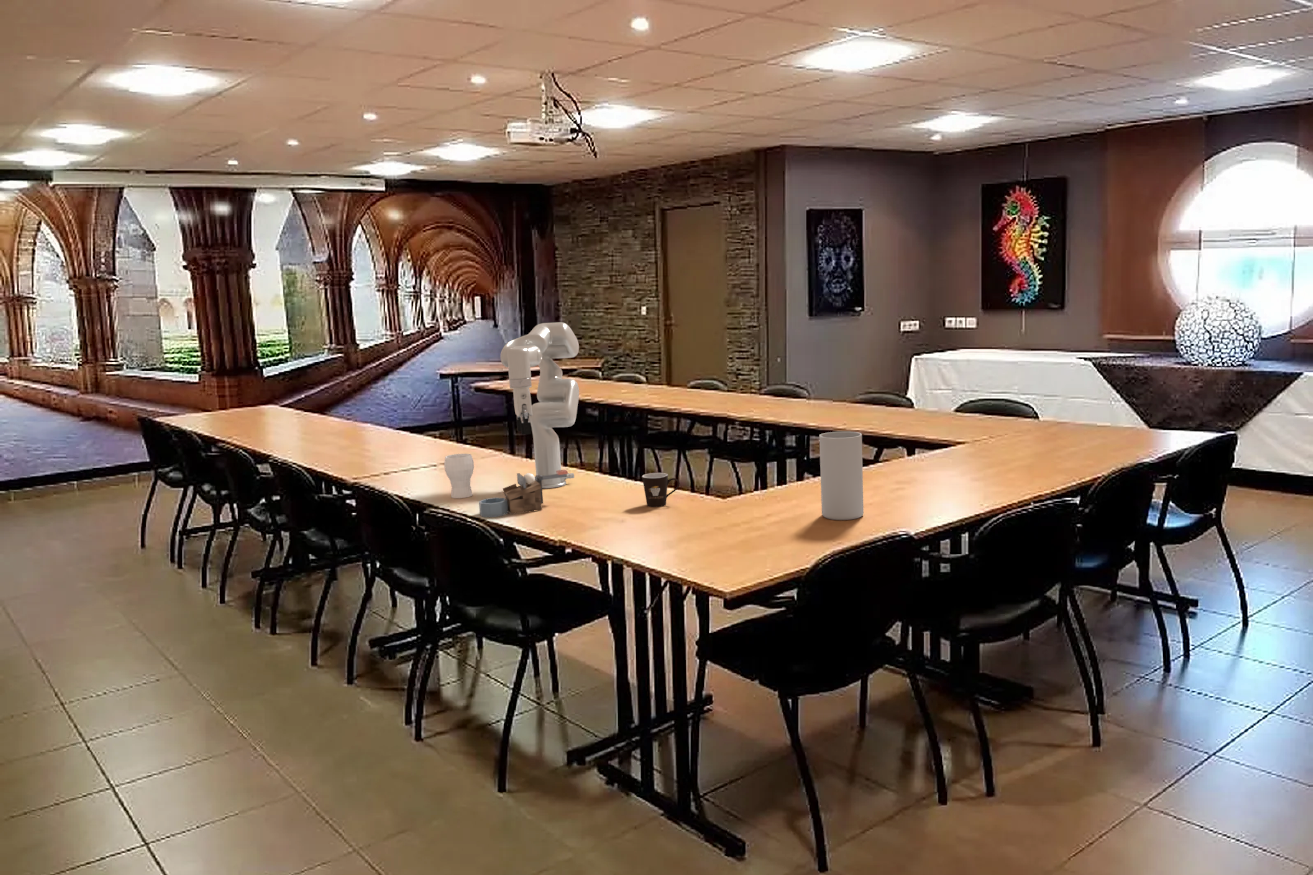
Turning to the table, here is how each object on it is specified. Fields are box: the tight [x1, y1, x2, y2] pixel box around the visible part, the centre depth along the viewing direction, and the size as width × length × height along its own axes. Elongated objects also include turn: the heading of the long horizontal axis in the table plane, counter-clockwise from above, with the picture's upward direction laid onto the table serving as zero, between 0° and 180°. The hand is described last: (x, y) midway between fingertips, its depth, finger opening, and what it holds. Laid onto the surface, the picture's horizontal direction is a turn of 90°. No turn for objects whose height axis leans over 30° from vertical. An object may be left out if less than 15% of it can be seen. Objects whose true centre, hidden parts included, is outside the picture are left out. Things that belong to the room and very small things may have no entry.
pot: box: [478, 497, 509, 518], centre depth 329 cm, size 9×9×4 cm
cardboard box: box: [502, 474, 544, 515], centre depth 334 cm, size 14×12×10 cm
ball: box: [523, 472, 535, 485], centre depth 332 cm, size 4×4×4 cm
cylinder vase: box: [818, 431, 864, 521], centre depth 298 cm, size 12×12×25 cm
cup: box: [443, 453, 475, 499], centre depth 360 cm, size 11×11×15 cm
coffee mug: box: [641, 472, 681, 508], centre depth 328 cm, size 12×9×10 cm
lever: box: [516, 469, 569, 488], centre depth 335 cm, size 17×11×3 cm, turn 109°
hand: (524, 432), depth 342 cm, fingers open, 9 cm apart
